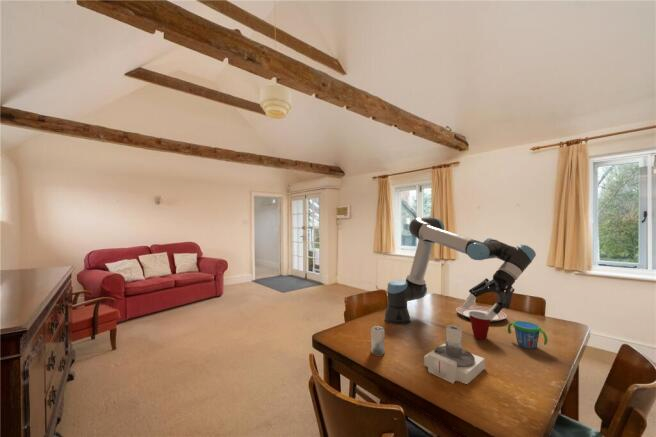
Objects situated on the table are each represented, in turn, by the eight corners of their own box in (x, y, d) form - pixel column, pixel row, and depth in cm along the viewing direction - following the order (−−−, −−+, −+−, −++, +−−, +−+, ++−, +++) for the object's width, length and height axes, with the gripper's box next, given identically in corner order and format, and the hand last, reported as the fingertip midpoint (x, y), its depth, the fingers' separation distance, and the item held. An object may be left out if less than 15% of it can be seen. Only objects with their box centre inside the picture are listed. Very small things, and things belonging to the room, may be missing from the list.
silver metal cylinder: (443, 353, 109) (443, 327, 109) (450, 349, 113) (449, 323, 113) (457, 359, 104) (457, 331, 104) (464, 354, 108) (464, 327, 108)
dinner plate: (446, 312, 172) (446, 307, 172) (475, 307, 183) (475, 302, 183) (486, 328, 147) (486, 322, 147) (517, 320, 158) (516, 315, 158)
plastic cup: (496, 343, 129) (496, 318, 129) (472, 341, 131) (472, 317, 131) (487, 333, 140) (487, 311, 140) (465, 332, 142) (465, 309, 142)
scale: (419, 368, 107) (419, 351, 107) (444, 352, 120) (443, 337, 120) (462, 388, 94) (462, 369, 94) (484, 368, 107) (484, 351, 107)
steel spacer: (368, 352, 121) (368, 328, 121) (377, 348, 125) (376, 324, 125) (378, 357, 116) (378, 332, 116) (387, 352, 120) (386, 328, 120)
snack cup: (503, 341, 131) (503, 321, 131) (515, 337, 135) (515, 317, 135) (539, 355, 117) (539, 333, 117) (552, 350, 121) (551, 328, 121)
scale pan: (427, 355, 109) (427, 353, 109) (445, 344, 119) (445, 342, 119) (464, 371, 98) (464, 368, 98) (480, 358, 107) (480, 355, 107)
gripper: (539, 288, 101) (506, 330, 98) (489, 275, 125) (461, 308, 123) (527, 275, 100) (493, 317, 97) (479, 264, 124) (451, 297, 122)
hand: (475, 312), depth 110 cm, fingers open, 13 cm apart
